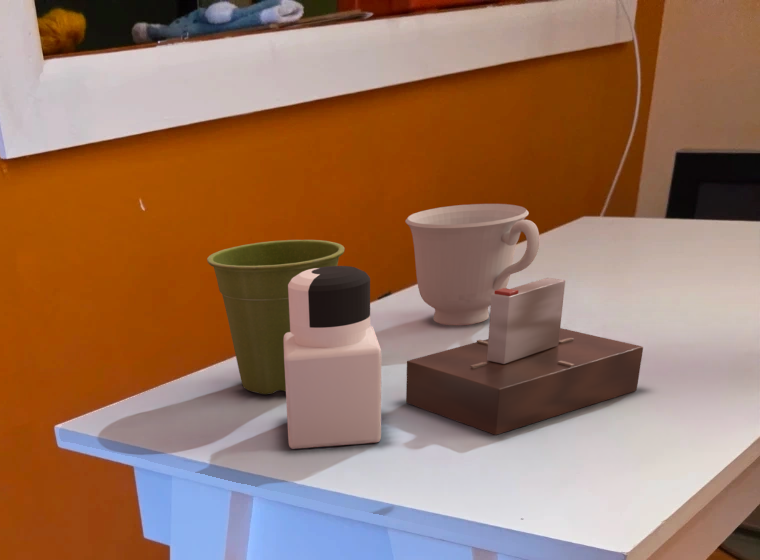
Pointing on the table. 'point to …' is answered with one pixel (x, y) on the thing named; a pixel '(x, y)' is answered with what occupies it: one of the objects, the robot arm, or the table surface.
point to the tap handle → (525, 320)
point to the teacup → (468, 256)
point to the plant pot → (264, 301)
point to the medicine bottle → (331, 360)
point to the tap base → (522, 381)
